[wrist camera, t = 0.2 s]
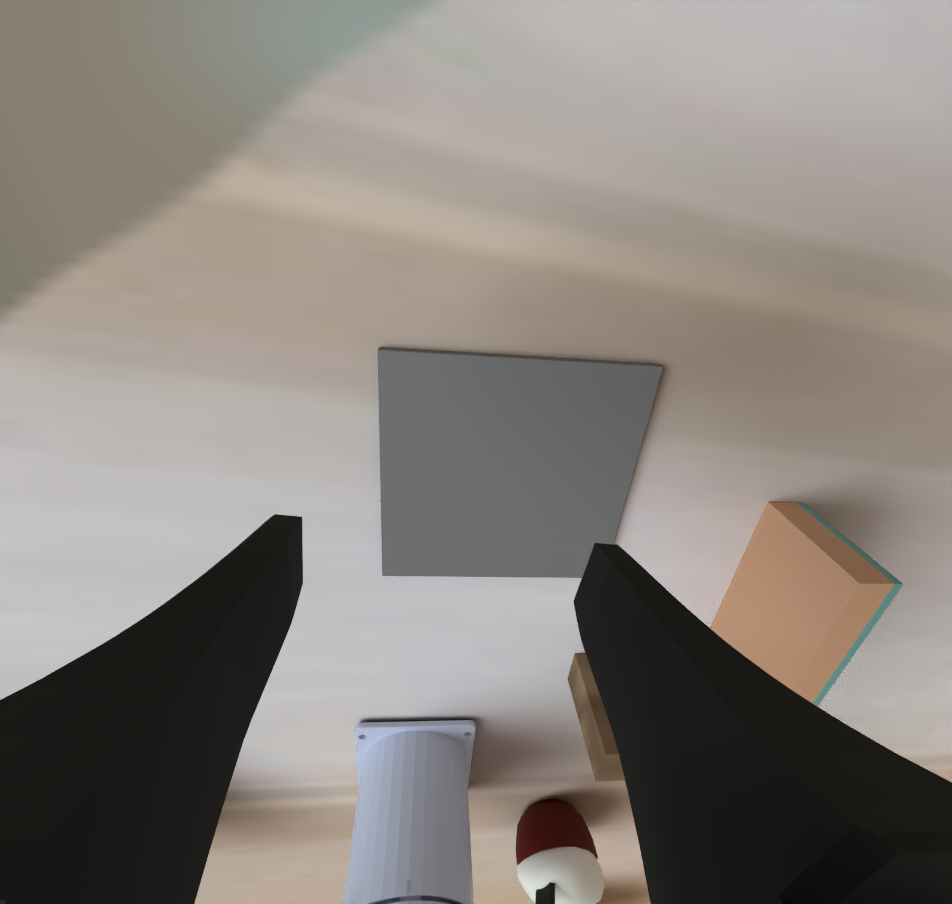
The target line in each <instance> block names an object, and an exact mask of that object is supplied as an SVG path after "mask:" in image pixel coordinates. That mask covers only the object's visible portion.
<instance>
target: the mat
mask: <svg viewBox="0 0 952 904" xmlns="http://www.w3.org/2000/svg"><path fill="white" fill-rule="evenodd" d="M662 370H663V366H661V365H660V364H649V363H632V362H616V361H599V360H582V359H565V358H549V357H532V356H515V355H498V354H482V353H465V352H448V351H432V350H415V349H398V348H381V347H379V349H378V382H379V430H380V478H381V527H382V575H383V576H462V577H567V578H582V577H583V574H584V571H585V569H586V566H587V563H588V560H589V557H590V555H591V552H592V549H593V546H594V544H595V543H603V544H613V543H614V539H615V536H616V532H617V529H618V525H619V522H620V518H621V515H622V511H623V508H624V504H625V501H626V497H627V493H628V490H629V486H630V483H631V479H632V476H633V472H634V469H635V465H636V462H637V458H638V455H639V451H640V447H641V444H642V440H643V437H644V433H645V430H646V426H647V423H648V419H649V416H650V412H651V409H652V405H653V401H654V398H655V394H656V391H657V387H658V384H659V380H660V377H661V373H662Z"/></svg>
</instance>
